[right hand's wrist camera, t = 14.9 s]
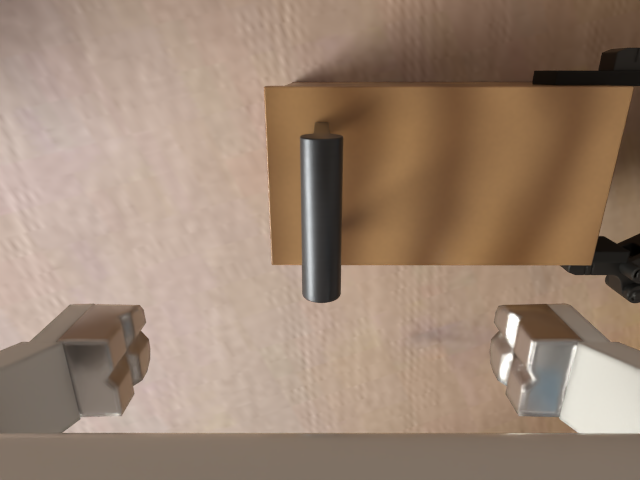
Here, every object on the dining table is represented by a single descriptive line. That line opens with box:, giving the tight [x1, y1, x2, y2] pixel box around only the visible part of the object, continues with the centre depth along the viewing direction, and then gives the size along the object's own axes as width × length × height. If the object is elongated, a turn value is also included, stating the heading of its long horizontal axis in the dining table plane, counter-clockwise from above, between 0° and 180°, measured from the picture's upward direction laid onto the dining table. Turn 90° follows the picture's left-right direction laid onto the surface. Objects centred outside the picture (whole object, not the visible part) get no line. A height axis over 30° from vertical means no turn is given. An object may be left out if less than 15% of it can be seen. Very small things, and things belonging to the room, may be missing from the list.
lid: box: [264, 86, 634, 303], centre depth 21 cm, size 18×10×8 cm, turn 90°
